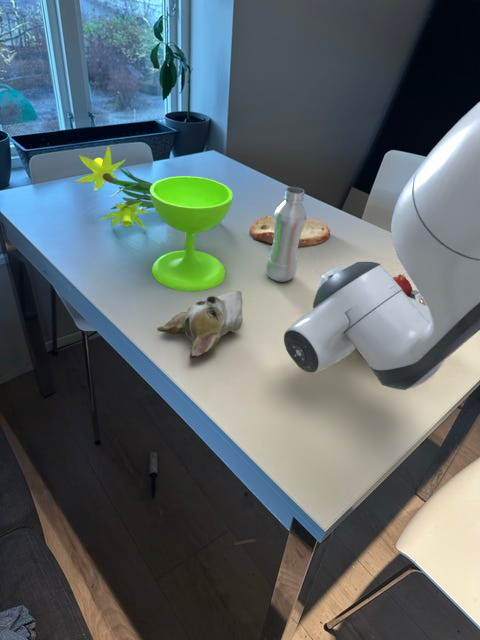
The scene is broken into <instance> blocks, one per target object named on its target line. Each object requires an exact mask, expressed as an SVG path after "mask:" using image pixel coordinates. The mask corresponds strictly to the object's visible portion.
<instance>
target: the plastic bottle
mask: <svg viewBox="0 0 480 640" xmlns="http://www.w3.org/2000/svg"><path fill="white" fill-rule="evenodd" d="M304 196H305V190H304V189H303V188H301V187H298V186H288V187H286V188H285V193H284V195H283V199H284V201H282V202H281V203H280V204H279V206H277V207H276V209H275V212H274V239H273V244H271V245H272V246H271V250H270V254H269V257H268V259H267V262H266V274H267V275H268V277H269V279H272V280H274V281H276V282H288V281H290V280H292V278H294V277H295V275H296V272H297V269H298V267H297V266H298V260H297V258H298V249H299V247H298V244H299V240H300V236H301V233H302V230H303V227H304V224H305V221H306V219H307V212H306V210H305V206H304V205H303V202H304V199H305V197H304Z"/></svg>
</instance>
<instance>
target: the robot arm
mask: <svg viewBox="0 0 480 640" xmlns="http://www.w3.org/2000/svg"><path fill="white" fill-rule="evenodd" d="M392 212H393V214H392V217H391V225H390V231H391V232H390V233H391V241H392V245H393V246H392V247H393V249H394V252H395V255H396V257H397V259H398V261H399V262H400V264H401V266H402V267H403V269H404V271H405V272H406V274H407V276H408V277H409V279H410V280H411V282H412V283H413V285H414V286H415V288H416V289H413V291H412V292H411V294H410V297H408V296H407V295H406V294H405V293H404V292H403V291H401V290H402V289H401V288H400V286H399V285H398V284H397V283H396V281H395V280H394V279H393V278H392V277H393V276H392V275H391V274H390V273H389V272H388V271H387V270H386V268H385V267H384V266H382V264H381V263H379V262H374V261H358V262H355V263H352V264H351V265H347V264H338V265H335V266H333V267H332V268H330V269H329V270H328V271H327V272H326V273H323V274H322V275H321V278H320V280H319V282H318V286H317V289H316V294H315V296H314V299H313V302H312V303H313V304H312V309H311V310H309V311H308V312H306V313H305V314H303V315H302V316H301V317H299V318H298V319H297V320H296V321H294V322H293V323H292V324H291V325H290V326H289V327H288V328H287V329H286V330H285V332H284V335H283V343H284V348H285V350H286V352H287V353H288V355H289V357H290V358H291V359H292V361H293V363H294V364H295V365H296V366H297V367H298V368H299V369H301V370H302V371H304V372H306V373H309V374H316V373H319V372H321V371H324V370H325V369H327V368H330V367H332V366H333V365H335V364H337V363H339V362H340V361H342V360H344V359H345V358H346V357H348V356H349V355H350V354H352V353H353V352H354V351H355V350H356V349H357V351H358V352H359V354H361V356H362V357H363V358H364V360H365V361H366V362H367V364H368V365H369V368H370V369H371V371H372V372H373V374H374V375H375V377H376V378H377V380H378V381H379V383H380V384H381V385H382V386H384V387H387V388H391V389H394V390H400V391H407V390H409V389H414V388H416V387H418V386H420V385H422V384H424V383H426V382H427V381H428V380H430V379H431V378H432V377H433V376H434V375H435V374H437V372H438V371H440V369H441V368H442V366H443V364H444V363H445V361H446V360H447V359H448V358H449V357H450V356H451V355H452V354H454V352H456V351H457V350H459V348H461V347H462V346H463V345H464V344H465V343H466V342H469V340H470V339H471V338H472V337H473V336H475V335H476V334H477V333H478V332H479V331H480V101H479V102H477V103H476V104H475V105H474V106H473V107H472V108H471V109H470V110H468V111H467V113H466V114H464V115H463V116H462V117H461V118H460V119H459V120H458V121H457V122H456V123H455V124H454V125H453V126H452V127H451V129H449V130H448V131H447V133H446V134H445V135H444V136H443V137H442V138H441V139H440V140H439V142H437V143H436V145H434V147H433V148H432V149H431V150H430V152H429V153H428V154H427V156H426V157H425V158H424V160H422V161H421V162H420V164H419V166H418V167H417V168H416V170H415V171H414V172H413V174H412V175H411V176H410V178H409V180H408V181H407V182H406V184H405V185H404V187H403V189H402V191H401V192H400V194H399V196H398V198H397V200H396V202H395V206H394V209H393V211H392ZM421 298H422V299H423V300H424V302H425V304H426V306H425V305H423V304H421V303H419V302H420V299H421Z"/></svg>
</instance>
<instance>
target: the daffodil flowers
mask: <svg viewBox="0 0 480 640" xmlns="http://www.w3.org/2000/svg"><path fill="white" fill-rule="evenodd" d="M78 157H79V159H80V161H81V162H82V163H83V164H84V166H86V168H87V169H89V170H90V171H92V173H90V174H87V175H85V176H83V177H81V178H78V179H76V180H75V182H76V183H82V184H88V183H93V182H94V185H93V192H94V191H97V190H99V189H101V188H102V187H103V186H104V185H105V183H106V182H107V183H110V184H111V185H112V184H113V185H116V186H119V187H118V189H119V190H117V191H116V192H115V193H113V194H112V195H111V196H110V198H112V197H114V196H116V195H117V194H119V193H121V192H122V193H124V194H125V195H126V196H129V197H126V196H125V197H124V196H123V197H122V200H124V201H125V202H120V203H115V205H114V206H113V207H111V208H110V209H111V210H115V209H117V210H116V211H112V212H109V213H107V214H104V215H103V216H102V217H101V218H100V219H99V221H101V220H106V219H109V218H112V220H111V223H110V227H114V226H115V225H118V224H119V223H120V224H121V226H123V227H125V228H126V227H127V228H129V227H130V228H131V227H133V226H134V223H136V224H137V225H138V226H140V228H142V229H143V230H147V228H146V227H145V224H144V223H143V221H142V220H141V218H140V217H139V216H138V214H139V215H140V214H151V215H155V214H156V212H152V211H149V210H146V209H155V208H154V205H153V203H152V201H151V195H150V187H151V186H152V184H153V183H154V182H149V181H146V180H144V179H140V178H139V177H136V176H135V175H134V174H133V173H131V172H130V171H129V170H128V169H127V168H126V167H124V169H125V170H124V169H123V168H122V167H120V166H121V165H122V164H124V162H126V160H127V158H124V159H123V160H122V161H119V162H116V163H112V161H113V160H112V151H111V147H110V145H108V146H107V148H106V151H105V155H104V156H103V158H102V157H95V159H94V158H93V159H91V158H89V157H86V156H84V155H81V154H79V155H78ZM117 169H118V170H119V171H120V172H121V173H123V175H124V176H126V177H127V178H129V179H130V180H132V181H129V180H122V179H117V176H116V175H115V173H114V172H115V171H116V170H117ZM130 197H131V198H130ZM139 207H140V208H139Z"/></svg>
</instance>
